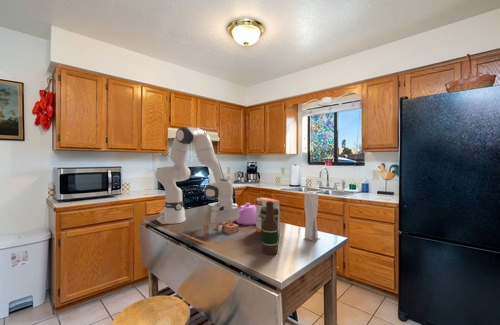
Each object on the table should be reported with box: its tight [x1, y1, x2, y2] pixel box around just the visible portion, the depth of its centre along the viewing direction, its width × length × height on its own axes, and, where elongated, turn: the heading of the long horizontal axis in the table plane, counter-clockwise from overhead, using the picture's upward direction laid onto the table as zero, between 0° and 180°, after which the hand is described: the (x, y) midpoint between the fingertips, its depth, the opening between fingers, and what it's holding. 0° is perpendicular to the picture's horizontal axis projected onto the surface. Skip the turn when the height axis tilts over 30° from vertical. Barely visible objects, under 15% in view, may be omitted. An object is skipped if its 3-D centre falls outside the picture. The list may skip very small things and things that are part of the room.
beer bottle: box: [261, 201, 279, 256], centre depth 115 cm, size 8×8×24 cm
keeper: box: [202, 224, 210, 238], centre depth 136 cm, size 6×3×7 cm, turn 17°
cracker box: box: [255, 197, 281, 237], centre depth 140 cm, size 14×6×21 cm, turn 42°
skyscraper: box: [303, 188, 321, 243], centre depth 133 cm, size 8×8×28 cm
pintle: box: [218, 225, 222, 235], centre depth 139 cm, size 2×2×6 cm
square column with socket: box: [215, 221, 240, 234], centre depth 146 cm, size 16×6×4 cm, turn 47°
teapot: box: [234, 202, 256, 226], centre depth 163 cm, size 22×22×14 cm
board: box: [192, 226, 248, 244], centre depth 140 cm, size 24×21×1 cm
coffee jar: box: [260, 206, 280, 242], centre depth 129 cm, size 10×8×19 cm
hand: (225, 228), depth 146 cm, fingers open, 4 cm apart
